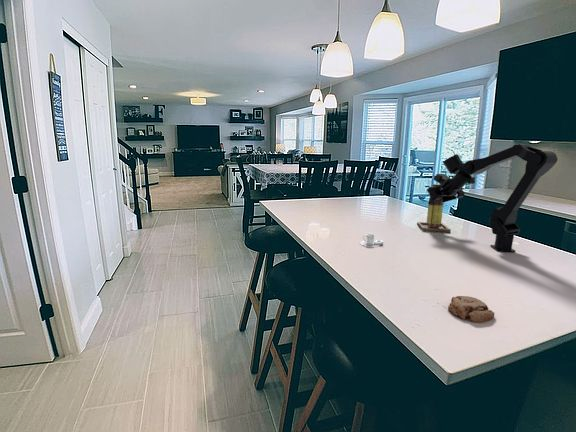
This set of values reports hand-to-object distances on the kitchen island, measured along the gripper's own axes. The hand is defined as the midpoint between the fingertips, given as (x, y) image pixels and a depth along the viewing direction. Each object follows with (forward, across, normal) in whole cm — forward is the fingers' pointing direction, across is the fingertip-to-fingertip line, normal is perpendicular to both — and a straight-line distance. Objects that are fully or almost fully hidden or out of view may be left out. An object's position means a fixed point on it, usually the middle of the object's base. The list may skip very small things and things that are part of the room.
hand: (433, 203), depth 158 cm
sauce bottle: (+7, 0, +9) cm, 11 cm away
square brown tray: (+8, 0, +9) cm, 12 cm away
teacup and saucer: (+1, +44, +17) cm, 47 cm away
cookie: (-34, +57, +53) cm, 85 cm away
